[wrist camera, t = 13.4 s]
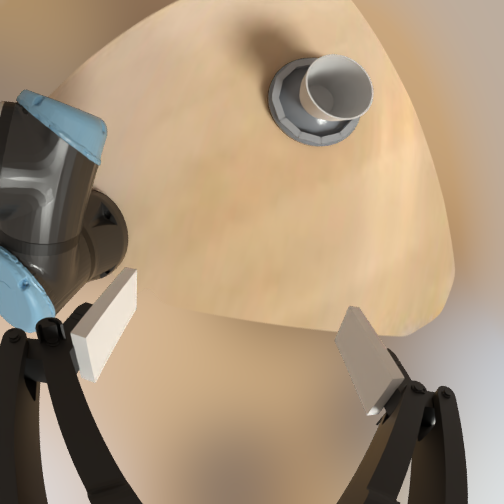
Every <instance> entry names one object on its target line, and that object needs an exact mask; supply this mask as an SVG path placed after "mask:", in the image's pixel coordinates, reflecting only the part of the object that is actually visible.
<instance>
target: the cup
mask: <svg viewBox="0 0 504 504" xmlns="http://www.w3.org/2000/svg"><path fill="white" fill-rule="evenodd" d="M299 97H300V102H301V104H302V106H303V108H304V109H305V110H306V112H307V113H309V114H310V115H311V116H313V117H315V118H318V119H322V120H327V121H342V120H351V119H355V118H358V117H360V116H362V115H363V114H364V113H366V112H367V110H368V109H369V108H370V106H371V104H372V101H373V85H372V82H371V79H370V77H369V75H368V74H367V72H366V71H365V70H364V69H363V67H362V66H361V65H359V64H358V63H357V62H355V61H354V60H352V59H350V58H348V57H345V56H342V55H335V54H332V55H325V56H322V57H320V58H318V59H317V60H315V61H314V62H313V63H312V64H311V65H310V67H309V69H308V70H307V72H306V74H305V76H304V77H303V79H302V82H301V86H300V93H299Z"/></svg>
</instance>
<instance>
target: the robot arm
mask: <svg viewBox="0 0 504 504" xmlns="http://www.w3.org/2000/svg"><path fill="white" fill-rule="evenodd" d="M106 137H107V126H106V124H105V122H104V121H103V120H102V119H101V118H99V117H97V116H94V115H92V114H89V113H87V112H85V111H82V110H80V109H77V108H75V107H72V106H69V105H67V104H64V103H62V102H59V101H57V100H54V99H51V98H48V97H46V96H43V95H40V94H37V93H34V92H32V91H29V90H23V91H22V92H21V93H20V95H19V96H18V97H17V103H14V102H5V101H2V102H0V315H1V316H2V317H3V318H4V319H5V320H6V321H7V322H8V323H9V324H11V325H12V326H14V327H15V328H12V329H9V330H8V331H6V332H5V333H4V335H3V338H2V341H1V344H0V504H48V502H47V497H46V492H45V486H44V479H43V472H42V463H41V452H40V436H39V396H40V382H44V383H47V384H48V389H49V393H50V397H51V400H52V404H53V407H54V411H55V414H56V417H57V420H58V424H59V426H60V430H61V432H62V435H63V438H64V440H65V443H66V446H67V449H68V451H69V454H70V456H71V458H72V461H73V463H74V465H75V467H76V470H77V472H78V474H79V476H80V478H81V480H82V482H83V484H84V486H85V488H86V491H87V494H88V498H89V500H90V502H91V504H142V502H141V501H140V500H139V498H138V497H137V495H136V494H135V492H134V491H133V489H132V488H131V486H130V485H129V484H128V482H127V481H126V479H125V478H124V476H123V474H122V473H121V471H120V469H119V468H118V466H117V464H116V463H115V461H114V459H113V457H112V455H111V453H110V451H109V449H108V447H107V446H106V444H105V442H104V440H103V438H102V436H101V434H100V432H99V429H98V427H97V425H96V423H95V420H94V418H93V416H92V414H91V411H90V409H89V407H88V404H87V402H86V399H85V397H84V394H83V391H82V389H81V386H80V383H79V380H78V377H77V373H78V371H80V374H81V377H82V378H84V379H86V380H89V381H92V382H96V381H97V379H98V377H99V375H100V373H101V371H102V369H103V367H104V365H105V364H106V362H107V360H108V358H109V356H110V354H111V353H112V351H113V349H114V347H115V345H116V343H117V342H118V340H119V338H120V336H121V334H122V333H123V331H124V329H125V327H126V326H127V324H128V322H129V320H130V319H131V317H132V315H133V314H134V312H135V310H136V293H137V270H136V269H132V268H127V267H125V268H124V269H123V270H122V271H121V273H120V274H119V275H118V276H117V277H116V278H115V279H114V281H113V282H112V283H111V284H110V285H109V286H108V287H107V289H106V290H105V291H104V292H103V293H102V295H101V296H100V297H99V298H98V299H97V300H96V302H95V303H94V304H90V303H86V302H85V303H84V304H82V305H80V306H78V307H77V308H76V309H75V310H74V312H73V313H72V314H71V315H70V317H69V318H68V319H67V320H66V321H65V322H64V323H63V324H62V322H61V321H60V320H59V319H57V318H55V315H56V314H57V313H58V312H59V311H60V310H61V309H62V307H64V306H65V304H66V303H67V302H68V301H69V300H70V299H71V298H72V297H73V296H74V295H75V294H76V293H77V292H78V291H79V290H80V288H82V287H83V286H84V285H85V284H86V283H87V282H89V281H93V280H97V279H100V278H103V277H105V276H107V275H109V274H110V273H112V272H113V271H114V270H115V269H116V268H117V267H118V266H119V265H120V263H121V262H122V260H123V259H124V257H125V254H126V251H127V246H128V231H127V226H126V223H125V220H124V217H123V215H122V213H121V212H120V210H119V208H118V207H117V206H116V204H115V203H114V202H113V201H112V200H111V199H110V198H108V197H107V196H105V195H104V194H102V193H100V192H97V191H92V186H93V182H94V179H95V176H96V172H97V169H98V166H99V165H100V164H101V160H100V158H101V154H102V151H103V147H104V144H105V141H106ZM25 332H28V333H32V332H36V333H37V336H38V339H30V338H27V336H26V333H25ZM335 342H336V345H337V347H338V349H339V351H340V354H341V356H342V358H343V361H344V363H345V365H346V367H347V370H348V372H349V374H350V377H351V379H352V381H353V384H354V386H355V389H356V391H357V393H358V396H359V398H360V400H361V403H362V405H363V408H364V410H365V413H366V415H374V414H379V412H380V411H381V410H382V409H383V407H384V408H385V409H386V413H385V414H384V415H383V417H382V418H381V419H380V420H379V421H378V423H377V424H376V425H378V424H379V423H380V424H379V427H378V429H377V431H376V433H375V435H374V437H373V440H372V442H371V444H370V446H369V448H368V450H367V452H366V454H365V456H364V458H363V460H362V462H361V464H360V465H359V467H358V469H357V471H356V473H355V474H354V476H353V478H352V480H351V481H350V483H349V485H348V486H347V488H346V490H345V491H344V493H343V494H342V496H341V498H340V499H339V501H338V502H337V504H400V502H397V500H396V499H397V496H398V494H399V491H400V489H401V486H402V484H403V481H404V478H405V476H406V473H407V470H408V466H409V464H410V460H411V458H412V463H411V477H410V489H409V497H408V504H468V488H467V469H466V459H465V449H464V442H463V435H462V428H461V423H460V418H459V412H458V407H457V402H456V398H455V394H454V393H453V391H452V390H451V389H450V388H448V387H446V386H440V387H439V388H438V389H437V391H436V392H429V391H427V390H426V388H425V387H424V386H423V384H421V383H420V382H417V381H412V380H411V379H410V377H409V375H408V374H407V372H406V371H405V369H404V367H403V366H402V364H401V363H400V361H399V360H398V358H397V356H396V355H395V354H394V353H393V352H392V351H391V350H390V349H388V348H386V347H385V346H384V344H383V342H382V341H381V339H380V338H379V336H378V335H377V333H376V332H375V330H374V329H373V327H372V326H371V324H370V323H369V321H368V320H367V318H366V317H365V315H364V314H363V312H362V311H361V309H360V308H359V307H353V306H349V308H348V310H347V312H346V315H345V317H344V319H343V322H342V324H341V326H340V329H339V331H338V333H337V335H336V338H335ZM434 423H435V425H434Z"/></svg>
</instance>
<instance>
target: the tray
mask: <svg viewBox="0 0 504 504" xmlns="http://www.w3.org/2000/svg"><path fill="white" fill-rule="evenodd" d="M317 59H318V58H303V59H298V60H295V61H292V62H290V63H288V64H286V65H285V66H284V67H282V68H281V69H280V70H279V71H278V72H277V74H276V75H275V76H274V78H273V80H272V82H271V85H270V88H269V92H268V105H269V110H270V113H271V115H272V118H273V119H274V121H275V123H276V124H277V126H278V127H279V128H280V129H281V130H282V131H283V132H284V133H285V134H286V135H287V136H289V137H290V138H292V139H293V140H295V141H297V142H299V143H302V144H305V145H310V146H328V145H332V144H336V143H338V142H340V141H342V140H344V139H345V138H347V137H348V136H349V135H350V134H351V133H352V132H353V130H354V129H355V127H356V126H357V124H358V121H359V118H360V117H358V118H355V119H351V120H342V121H327V120H322V119H318V118H315V117H313V116H311V115H310V114H309V113H307V112H306V110H305V109H304V108H303V106H302V104H301V102H300V97H299V93H300V86H301V82H302V79H303V77H304V76H305V74H306V72H307V70H308V69H309V67H310V65H311V64H312V63H313V62H314V61H315V60H317Z"/></svg>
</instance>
